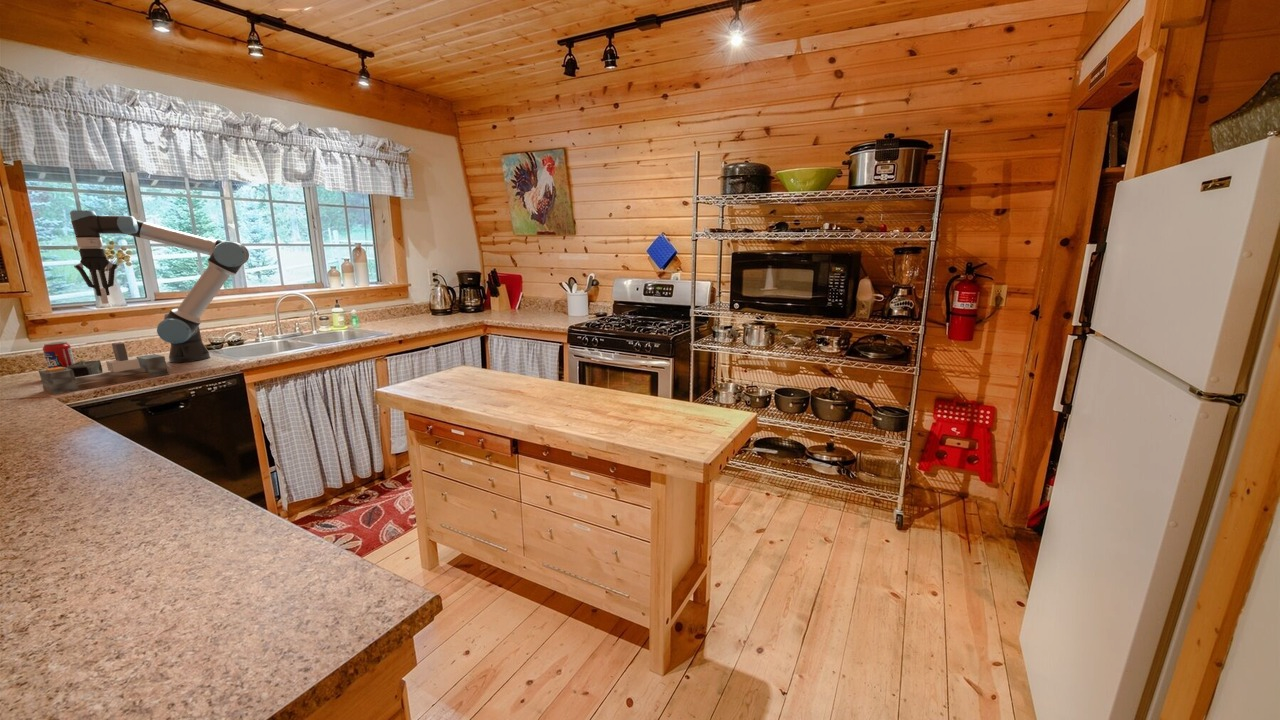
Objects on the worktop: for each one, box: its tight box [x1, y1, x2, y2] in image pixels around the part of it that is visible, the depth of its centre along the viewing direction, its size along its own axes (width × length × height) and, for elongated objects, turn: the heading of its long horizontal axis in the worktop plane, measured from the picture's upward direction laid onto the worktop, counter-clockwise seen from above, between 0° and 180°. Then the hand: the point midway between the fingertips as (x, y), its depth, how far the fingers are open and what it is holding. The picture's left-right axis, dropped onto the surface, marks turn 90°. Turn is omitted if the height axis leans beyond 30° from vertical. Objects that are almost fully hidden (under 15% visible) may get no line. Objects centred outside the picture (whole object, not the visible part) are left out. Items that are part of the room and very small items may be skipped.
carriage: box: [105, 341, 140, 372], centre depth 209 cm, size 8×7×11 cm
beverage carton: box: [66, 360, 103, 377], centre depth 215 cm, size 8×19×7 cm, turn 34°
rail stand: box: [38, 353, 169, 396], centre depth 206 cm, size 34×11×8 cm, turn 150°
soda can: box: [42, 341, 76, 369], centre depth 217 cm, size 8×8×15 cm
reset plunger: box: [45, 367, 65, 372], centre depth 194 cm, size 4×4×4 cm
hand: (105, 303), depth 221 cm, fingers closed
